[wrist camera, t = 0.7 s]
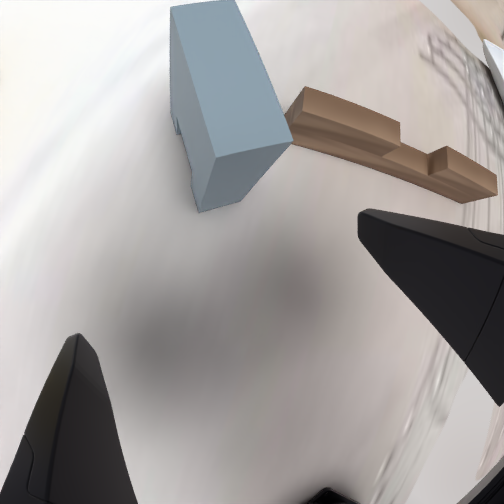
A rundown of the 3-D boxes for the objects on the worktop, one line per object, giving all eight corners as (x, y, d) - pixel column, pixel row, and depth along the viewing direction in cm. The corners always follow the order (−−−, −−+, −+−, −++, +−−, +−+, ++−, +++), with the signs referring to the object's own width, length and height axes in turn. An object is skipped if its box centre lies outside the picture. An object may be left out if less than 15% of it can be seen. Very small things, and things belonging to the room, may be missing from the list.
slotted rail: (461, 203, 27) (497, 195, 22) (278, 140, 23) (302, 110, 18) (461, 185, 27) (496, 175, 22) (282, 118, 23) (305, 86, 18)
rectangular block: (240, 201, 22) (293, 141, 11) (198, 212, 21) (215, 157, 11) (209, 103, 22) (234, -1, 11) (170, 111, 21) (170, 6, 11)
